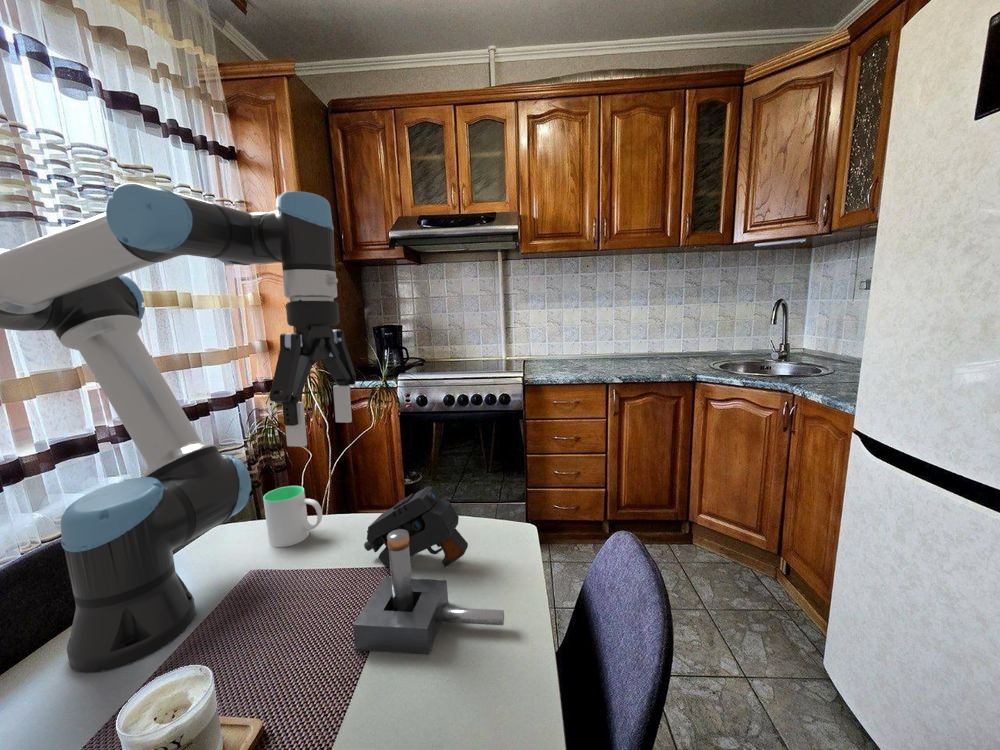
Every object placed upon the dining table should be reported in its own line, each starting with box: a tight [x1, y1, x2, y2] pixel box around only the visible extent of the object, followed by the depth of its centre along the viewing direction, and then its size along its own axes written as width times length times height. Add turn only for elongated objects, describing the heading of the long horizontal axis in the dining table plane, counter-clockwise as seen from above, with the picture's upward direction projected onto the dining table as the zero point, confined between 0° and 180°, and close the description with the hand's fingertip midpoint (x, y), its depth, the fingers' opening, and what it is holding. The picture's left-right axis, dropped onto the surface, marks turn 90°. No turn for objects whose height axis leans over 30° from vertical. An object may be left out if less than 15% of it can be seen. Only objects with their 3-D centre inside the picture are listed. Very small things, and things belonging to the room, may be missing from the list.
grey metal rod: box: [387, 529, 414, 612], centre depth 65 cm, size 3×3×15 cm
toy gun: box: [363, 485, 469, 569], centre depth 83 cm, size 6×19×15 cm, turn 78°
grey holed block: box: [352, 577, 505, 656], centre depth 65 cm, size 21×11×4 cm, turn 83°
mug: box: [262, 485, 323, 548], centre depth 94 cm, size 12×8×10 cm
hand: (322, 432), depth 69 cm, fingers open, 13 cm apart
